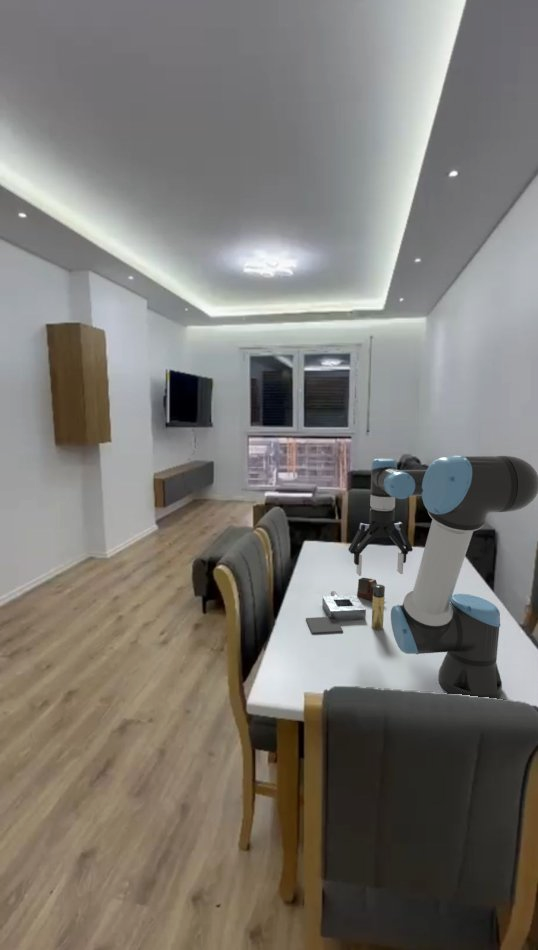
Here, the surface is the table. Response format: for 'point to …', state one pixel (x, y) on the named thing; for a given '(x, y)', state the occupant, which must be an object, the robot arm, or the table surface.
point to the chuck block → (343, 607)
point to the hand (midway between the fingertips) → (379, 573)
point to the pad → (323, 625)
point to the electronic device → (366, 588)
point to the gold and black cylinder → (378, 607)
